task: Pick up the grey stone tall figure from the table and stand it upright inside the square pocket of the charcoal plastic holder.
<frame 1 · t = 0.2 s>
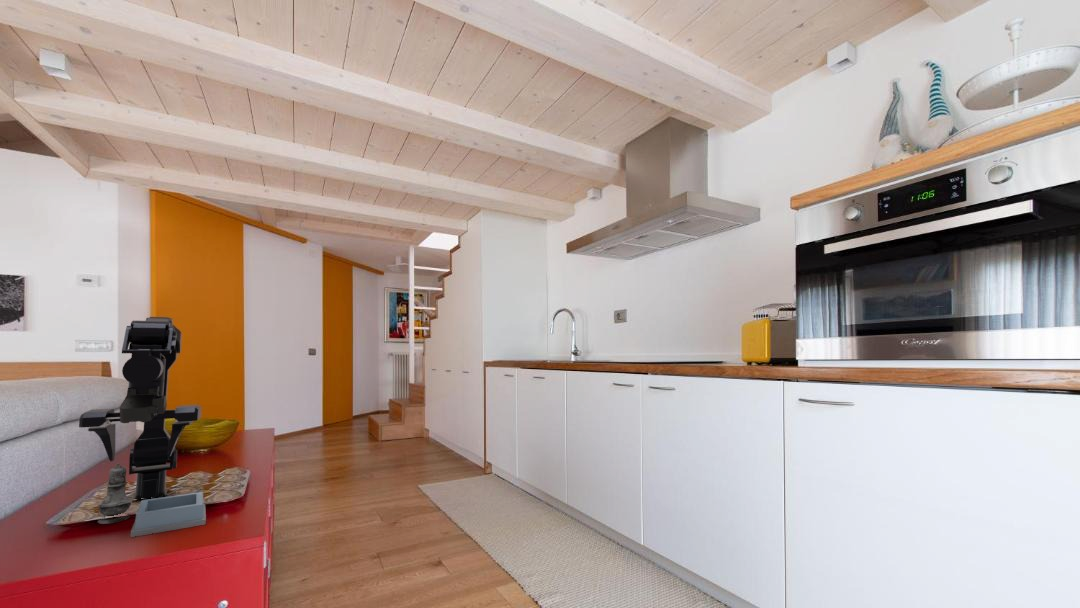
hand: (141, 458, 98), 14 cm above the table, tool pointing down, fingers open, 9 cm apart
holder: (170, 521, 101), on the table
grey stone tall figure: (114, 520, 103), on the table
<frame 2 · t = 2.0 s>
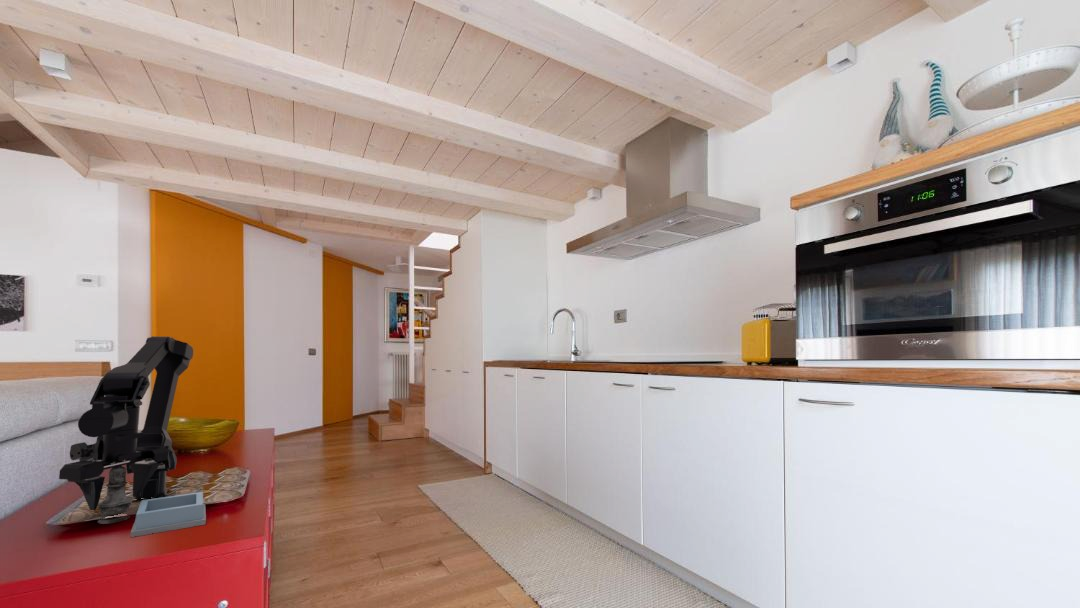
hand: (115, 503, 103), 3 cm above the table, tool pointing down, fingers closed on grey stone tall figure, 9 cm apart
grey stone tall figure: (114, 520, 103), on the table, touching gripper
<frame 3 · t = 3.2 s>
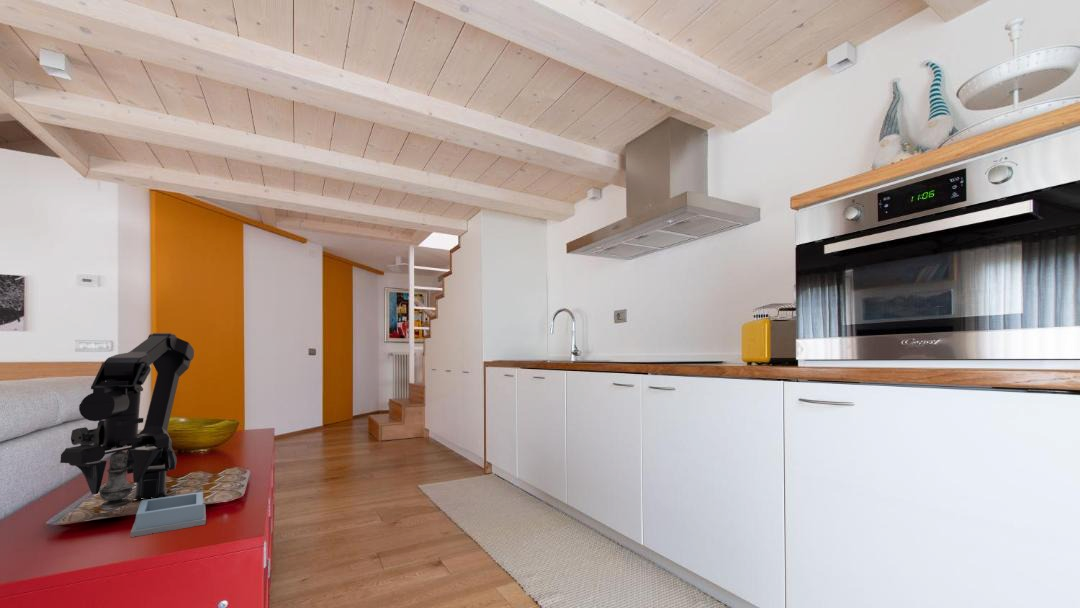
hand: (116, 487, 104), 7 cm above the table, tool pointing down, fingers closed on grey stone tall figure, 8 cm apart
grey stone tall figure: (115, 505, 103), point 3 cm above the table, touching gripper
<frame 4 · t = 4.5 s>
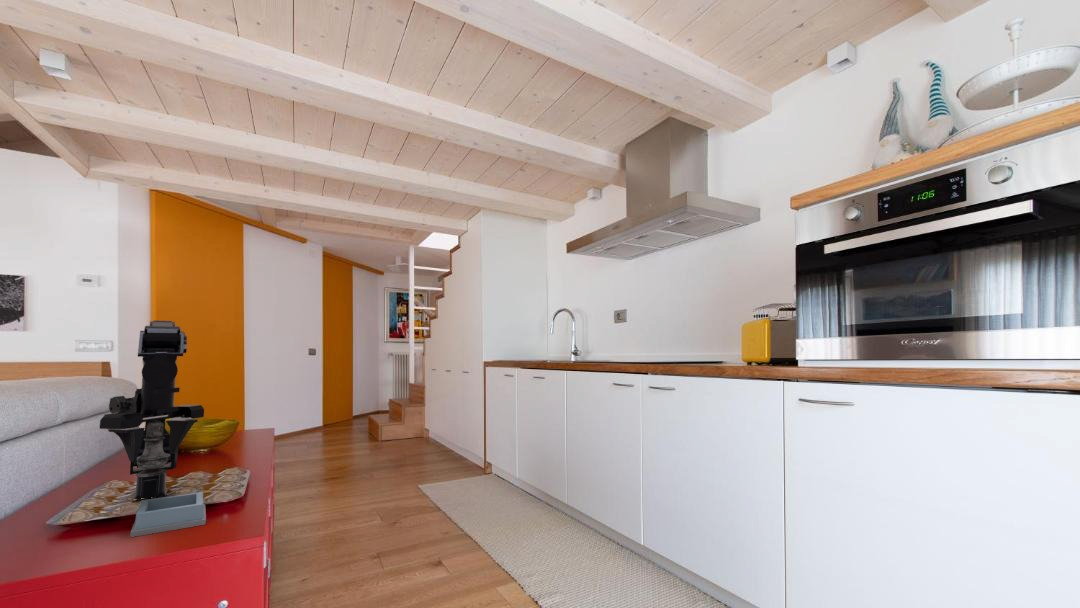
hand: (153, 457, 103), 13 cm above the table, tool pointing down, fingers closed on grey stone tall figure, 8 cm apart
grey stone tall figure: (151, 474, 102), point 10 cm above the table, touching gripper
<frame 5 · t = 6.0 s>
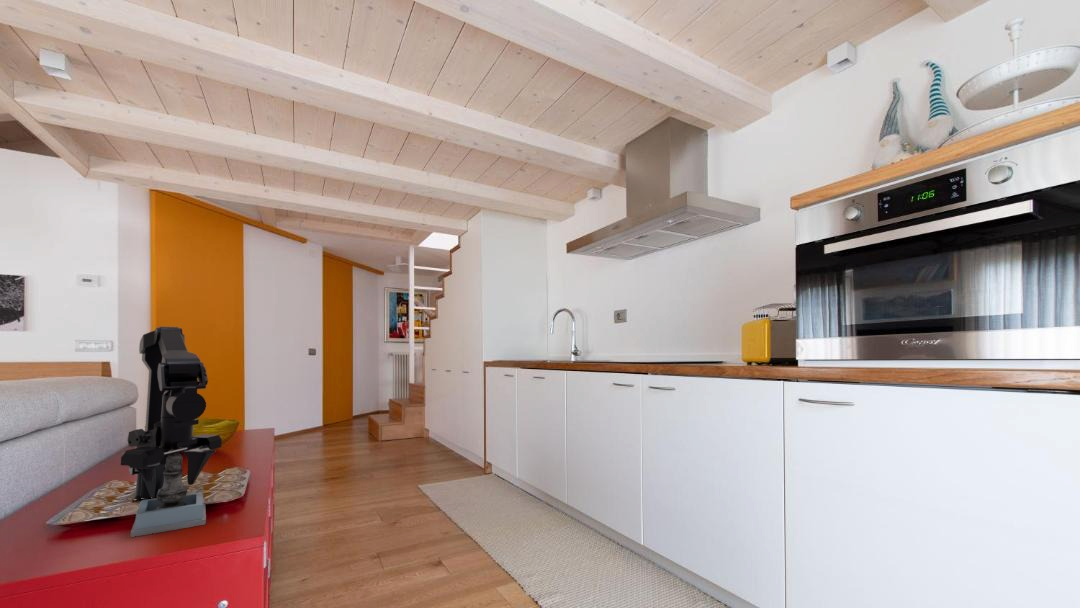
hand: (172, 490, 102), 6 cm above the table, tool pointing down, fingers closed on grey stone tall figure, 8 cm apart
grey stone tall figure: (171, 508, 102), point 3 cm above the table, touching gripper
when the fingers open (5 cm above the table, at t = 7.2 s): grey stone tall figure stays where it is, resting on holder.
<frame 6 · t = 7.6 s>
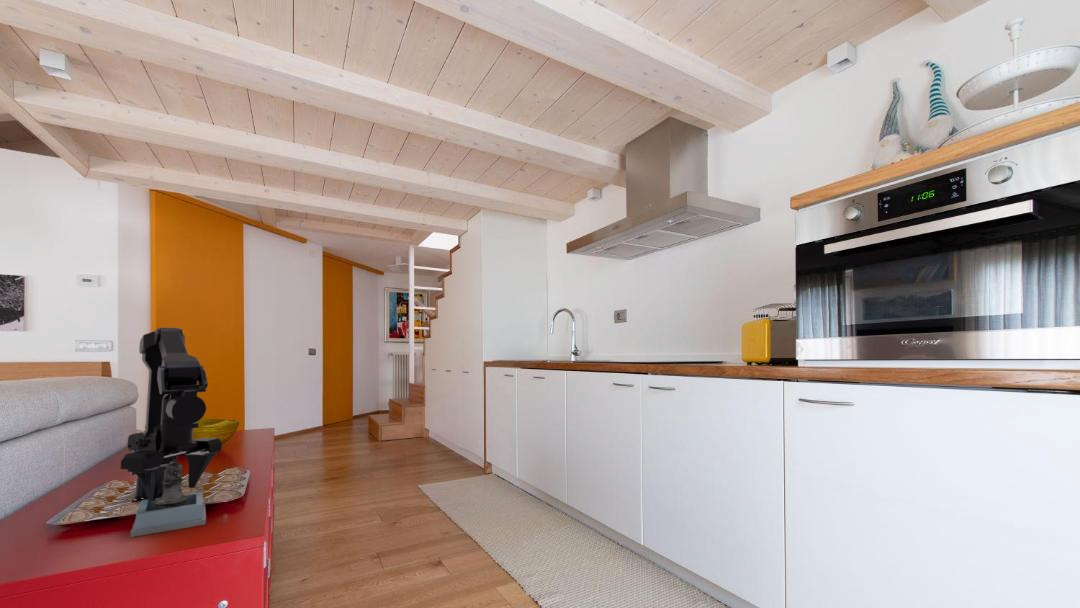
hand: (172, 494, 102), 6 cm above the table, tool pointing down, fingers open, 9 cm apart
grey stone tall figure: (170, 517, 102), point 1 cm above the table, touching holder
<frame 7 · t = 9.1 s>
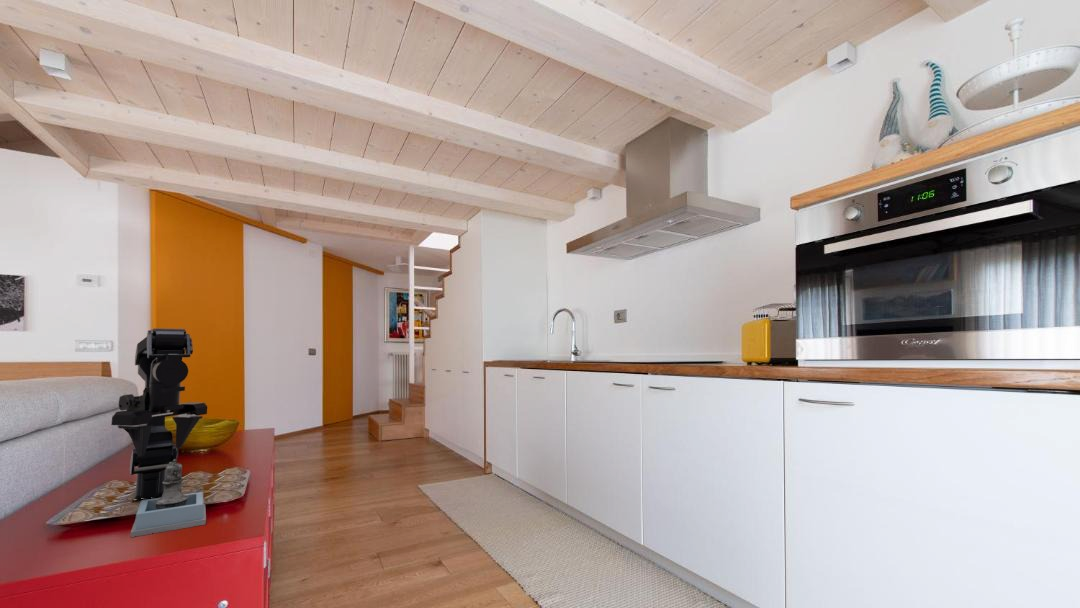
hand: (160, 451, 110), 13 cm above the table, tool pointing down, fingers open, 9 cm apart
nothing on the table moved.
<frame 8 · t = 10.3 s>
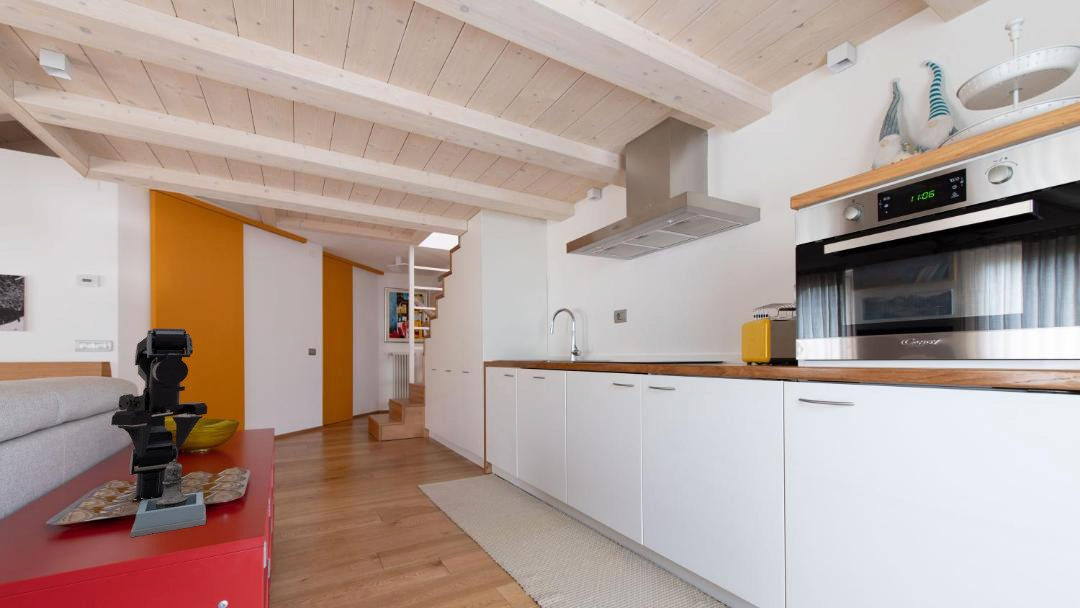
hand: (160, 451, 110), 13 cm above the table, tool pointing down, fingers open, 9 cm apart
nothing on the table moved.
at the end: grey stone tall figure 0.1 cm off-centre on the holder, point 0.8 cm above the holder's base; grey stone tall figure tilted 0°; the gripper is holding nothing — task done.
